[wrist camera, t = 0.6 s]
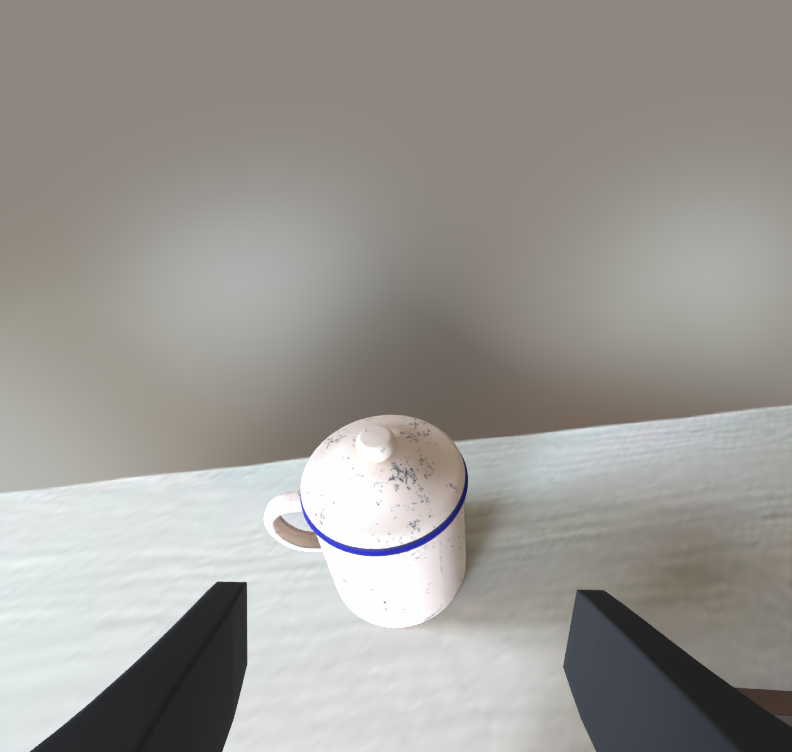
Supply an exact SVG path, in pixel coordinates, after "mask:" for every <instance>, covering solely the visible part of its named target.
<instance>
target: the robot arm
mask: <svg viewBox="0 0 792 752" xmlns="http://www.w3.org/2000/svg"><path fill="white" fill-rule="evenodd" d="M246 667H247V582H217V583H215V584H214V585H213V586H212V587H211V588H210V589H209V590H208V591H207V592H206V593H205V594H204V595H203V596H202V597H201V598H200V599H199V600H198V601H197V602H196V603H195V604H194V605H193V606H192V607H191V608H190V609H189V610H188V611H187V612H186V614H185V615H184V616H183V617H182V618H181V619H180V620H179V621H178V622H177V623H176V624H175V625H174V626H173V627H172V628H171V629H170V630H169V631H168V632H167V633H166V634H164V635H163V636H162V637H161V638H160V639H159V640H158V641H157V642H156V643H155V644H154V645H153V646H152V647H151V648H150V649H149V650H148V651H147V652H146V653H145V654H144V655H143V656H142V657H141V658H140V659H139V660H137V661H136V662H135V663H134V664H133V665H132V666H131V667H130V668H129V669H128V670H127V671H125V672H124V673H123V674H122V675H121V676H120V677H119V678H118V679H116V680H115V681H114V682H113V683H112V684H111V685H110V686H109V687H107V688H106V689H105V690H104V691H103V692H102V693H101V694H100V695H98V696H97V697H96V698H95V699H94V700H93V701H92V702H91V703H89V704H88V705H87V706H86V707H85V708H83V709H82V710H81V711H80V712H79V713H77V714H76V715H75V716H74V717H73V718H71V719H70V720H69V721H68V722H67V723H65V724H64V725H63V726H62V727H60V728H59V729H58V730H57V731H56V732H54V733H53V734H52V735H51V736H49V737H48V738H47V739H45V740H44V741H43V742H42V743H40V744H39V745H38V746H36V747H35V748H34V749H33V750H31V751H30V752H222V751H223V748H224V745H225V742H226V739H227V736H228V734H229V731H230V728H231V725H232V722H233V719H234V715H235V711H236V708H237V704H238V700H239V696H240V692H241V688H242V683H243V679H244V675H245V671H246ZM563 668H564V671H565V674H566V677H567V680H568V683H569V686H570V689H571V692H572V695H573V697H574V700H575V703H576V706H577V708H578V711H579V714H580V717H581V719H582V722H583V724H584V726H585V728H586V730H587V733H588V735H589V737H590V739H591V741H592V743H593V745H594V747H595V750H596V752H792V727H791V726H789V725H788V724H786V723H785V722H783V721H782V720H780V719H779V718H777V717H776V716H774V715H773V714H771V713H770V712H768V711H767V710H765V709H764V708H762V707H761V706H759V705H758V704H757V703H755V702H754V701H752V700H751V699H749V698H748V697H747V696H745V695H744V694H742V693H741V692H739V691H738V690H737V689H735V688H734V687H732V686H731V685H729V684H728V683H727V682H725V681H724V680H723V679H721V678H720V677H718V676H717V675H716V674H714V673H713V672H712V671H710V670H709V669H707V668H706V667H705V666H703V665H702V664H701V663H699V662H698V661H697V660H695V659H694V658H693V657H691V656H690V655H689V654H687V653H686V652H685V651H683V650H682V649H681V648H680V647H678V646H677V645H676V644H674V643H673V642H672V641H670V640H669V639H668V638H666V637H665V636H664V635H663V634H661V633H660V632H659V631H657V630H656V629H655V628H654V627H652V626H651V625H650V624H648V623H647V622H646V621H644V620H643V619H642V618H641V617H639V616H638V615H637V614H635V613H634V612H633V611H631V610H630V609H629V608H628V607H626V606H625V605H624V604H622V603H621V602H619V601H618V600H617V599H615V598H614V597H613V596H611V595H610V594H608V593H607V592H605V591H604V590H577V593H576V598H575V604H574V609H573V615H572V621H571V626H570V632H569V637H568V643H567V649H566V654H565V660H564V665H563Z"/></svg>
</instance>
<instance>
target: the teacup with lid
mask: <svg viewBox="0 0 792 752" xmlns="http://www.w3.org/2000/svg"><path fill="white" fill-rule="evenodd" d="M467 487H468V474H467V468H466V464H465V461H464V459H463V457H462V455H461V453H460V451H459V449H458V448H457V446H456V445H455V443H454V442H453V441H452V440H451V439H450V438H449V437H448V436H447V435H446V434H445V433H444V432H443V431H441V430H440V429H439V428H437V427H435V426H434V425H432V424H430V423H428V422H425V421H423V420H420V419H417V418H413V417H409V416H402V415H382V416H374V417H369V418H365V419H361V420H358V421H356V422H353V423H351V424H348V425H346V426H344V427H342V428H341V429H339V430H337V431H336V432H334V433H333V434H332V435H330V436H329V437H328V438H327V439H325V441H323V442H322V443H321V444H320V445H319V446H318V448H317V449H316V450H315V451H314V453H313V455H312V456H311V457H310V459H309V461H308V463H307V465H306V467H305V470H304V472H303V476H302V481H301V488H300V491H294V492H287V493H283V494H281V495H278V496H276V497H275V498H274V499H272V500H271V501H270V502H269V504H268V505H267V507H266V511H265V514H264V523H265V526H266V528H267V530H268V531H269V533H270V534H271V535H272V536H273V537H274V538H275V539H276V540H278V541H279V542H281V543H282V544H284V545H286V546H288V547H290V548H293V549H296V550H300V551H306V552H323V553H324V555H325V558H326V561H327V563H328V566H329V568H330V571H331V574H332V576H333V579H334V582H335V584H336V587H337V589H338V592H339V594H340V596H341V598H342V599H343V601H344V602H345V603H346V605H347V606H348V607H349V608H350V609H351V610H352V611H353V612H354V613H355V614H357V615H358V616H359V617H361V618H362V619H364V620H366V621H368V622H370V623H373V624H376V625H379V626H384V627H391V628H401V627H409V626H414V625H417V624H420V623H423V622H425V621H427V620H429V619H431V618H433V617H434V616H436V615H437V614H439V613H440V612H441V611H443V610H444V609H445V608H446V607H447V606H448V605H449V604H450V603H451V601H452V600H453V599H454V597H455V596H456V594H457V593H458V591H459V589H460V587H461V584H462V582H463V579H464V575H465V569H466V540H465V513H464V500H465V497H466V493H467ZM291 512H303V514H304V517H305V519H306V521H307V523H308V524H309V526H310V527H311V529H312V530H313V531H314V532H308V531H303V530H300V529H297V528H295V527H293V526H291V525H290V524H288V523H287V522H286V521H285V520H284V519H283V518H282V517H281V516H280V515H283V514H286V513H291Z"/></svg>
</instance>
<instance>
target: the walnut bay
mask: <svg viewBox="0 0 792 752" xmlns="http://www.w3.org/2000/svg"><path fill="white" fill-rule="evenodd" d="M735 689H737V690H738V691H739V692H741V693H742V694H744V695H745V696H747V697H748V698H749V699H751V700H752V701H754V702H755V703H757V704H758V705H759V706H761V707H762V708H764V709H765V710H767V711H768V712H770V713H771V714H773V715H774V716H776V717H777V718H779V719H780V720H782V721H783V722H785V723H786V724H788V725H789V726H791V727H792V691H777V690H761V689H746V688H735Z"/></svg>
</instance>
